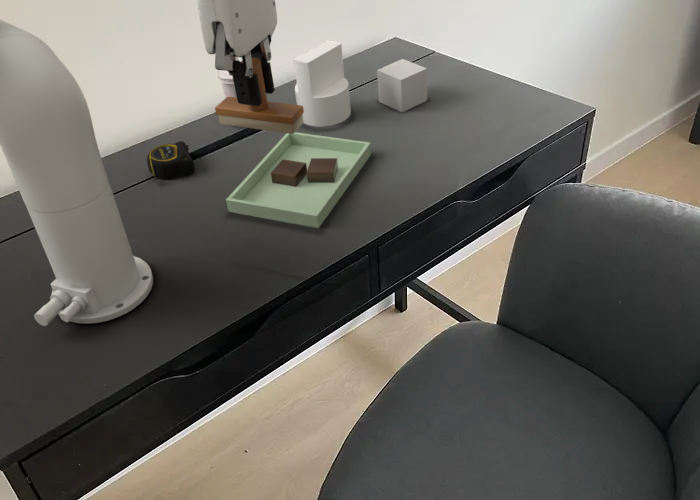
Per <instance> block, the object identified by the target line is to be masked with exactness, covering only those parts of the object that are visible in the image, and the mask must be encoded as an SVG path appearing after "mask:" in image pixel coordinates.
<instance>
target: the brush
mask: <svg viewBox="0 0 700 500" xmlns="http://www.w3.org/2000/svg"><path fill="white" fill-rule="evenodd" d="M251 59H252V66H253V74H257V76H258V82H259V87H260V93H261V99H262V104H261V105H260V106H253V105H245V104H240V103H238V101H237V98H235V97H224V99H223V100H222V101H221V102H220V103H218V104H217V105H216V107H214V110H215V114H216V116H218V120H219V124H220V125H224V126H232V127H239V128H246V129H253V130H260V131H268V132H269V131H270V132H276V133H283V134H286V133H289V134H294V133H295V132H297V131H298V130H299V129H300V127H301V126H302V125H303V124H304V123H303V115H302V114H303V113H304V109H303V106H301V105H297V104H293V103H292V104H291V103H283V102H276V101H269V100H268V95H267V93H266V89H265V83H264V77H263V72H262V66H261V60H260V59H258V58H251ZM240 62H241V63H243V61H242V60H241V61H240Z"/></svg>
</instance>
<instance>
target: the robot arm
mask: <svg viewBox="0 0 700 500" xmlns="http://www.w3.org/2000/svg"><path fill="white" fill-rule="evenodd" d="M196 2H197V3H196V4H197V10H198V16H199V23H200V29H201V32H202V34H201V35H202V39H203V42H204V43H203V44H204V48H205V52H206V53H207V54H208V55H215V57H214V58H215V59H214V69H215V70H217V71H218V70H224V71H228V72H229V75H230V76H233V81H234V86H235V91H236V96H237V101H238V103H240V104H245V105H253V106H260V105H261V104H262V99H261V93H260V87H259V82H258V76H257V74H253V66H252V59H251V58H258V59H260V60H261V66H262V72H263V77H264V83H265V89H266V94H268V95H269V94H270V95H272V94H273V93H274V92H275V90H276V89H275V84H274V78H273V77H274V76H273V72H272V66H271V65H272V64H271V62H270V61H271V60H272V50H271V44H272V37H273V35H274V33H275V30H276V28H277V25H278V15H277V6H276V4H277V3H276V0H196ZM235 57H238V58H241V61H243V63H241V61H240V60H239V59H238V60H239V61H238V60H236V58H235ZM94 129H95V128H94V125H93V120H92V115H91V111H90V108H89V105H88V102H87V99H86V97H85V95H84V93H83V90H82V89H81V86H80V85H79V83H78V82H77V80H76V78H75V77H74V75H73V74H72V73H71V71H70V70H69V69H68V68H67V66H66V65H65V64H64V62H63V61H61V59H60V58H59V57H58V55H57V54H56V52H54V51H53V49H52V48H51V47H50V46H49V45H48V44H47V43H46V42H45V41H43V40H42V39H41V38H39V37H38V36H36V35H34V34H33V33H30V32H29V31H27V30H24V29H22V28H20V27H18V26H16V25H14V24H11V23H9V22H7V21H4V20H2V19H0V147H1V150H2V152H3V154H4V158H5V160H6V161H7V165H8V167H9V169H10V172H11V175H12V177H13V179H14V181H15V184H16V186H17V189H18V191H19V193H20V196H21V198H22V201H23V203H24V205H25V207H26V210H27V212H28V214H29V217H30V219H31V223H32V224H33V226H34V229H35V232H36V233H37V236H38V238H39V241H40V244H41V246H42V249H43V251H44V253H45V255H46V258H47V260H48V262H49V265H50V267H51V270H52V272H53V274H54V277H55V279H54V280H53V281H51V283H50V287H51V295H50V296H49V301H48V302H47V303H46V304H44V305H43V306H42V307H41V308H40V309H38V310H37V312H35V314H33V319H34V320H35V321H36V323H37V324H39V325H40V326H43V327H47V326H48V325H49V324H51V322H53V320H54V319H55V318H56V317H57V316H59V318H60V319H61V321H63V322H64V323H69V322H72V323H75V324H83V325H84V324H86V325H89V324H99V323H103V322H108V321H111V320H115V319H117V318H119V317H122V316H124V315H126V314H128V313H129V312H131V311H133V310H134V309H136V307H138V306H139V305H141V303H142V302H143V301H145V300H146V298H147V297H148V296H149V294H150V292H151V291H152V288H153V285H154V275H153V272H152V269H151V267H150V265H149V264H148V263H147V262H146V260H143V259H142V258H140V257H137V256H135V255H134V254H133V251H132V248H131V245H130V242H129V238H128V235H127V233H126V230H125V227H124V223H123V220H122V218H121V215H120V211H119V208H118V205H117V202H116V199H115V195H114V193H113V189H112V186H111V184H110V181H109V177H108V175H107V171H106V169H105V166H104V162H103V159H102V156H101V152H100V149H99V146H98V143H97V139H96V133H95V130H94Z"/></svg>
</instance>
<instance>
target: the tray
mask: <svg viewBox="0 0 700 500" xmlns="http://www.w3.org/2000/svg"><path fill="white" fill-rule="evenodd" d="M371 156H372V142H371V141H363V140H362V141H361V140H355V139H348V138H341V137H335V136H334V137H333V136H326V135H319V134H312V133H304V132H298V131H296V132H295V133H294V134H289V133H284V136H282V137H281V139H280V140H279V141H278V142H277V143H276V144H275V145H274V146H273V147H272V149H270V150H269V152H268V153H267V154H266V155H265V156H264V157H263V159H261V161H259V163H258V164H257V165H256V166H255V167H254V168H253V169H252V170H251V172H250V173H249V174H248V175H247V176H246V177H245V178H244V179H243V180H242V182H240V183H239V185H237V187H236V188H235V189H234V190H233V191H232V193H231V194H229V196H228V197H227V198H226V199H225V202H226V205H227V207H226V208H227V211H228V212H229V213H233V214H239V215H245V216H250V217H256V218H262V219H267V220H272V221H278V222H282V223H283V222H284V223H288V224H294V225H299V226H304V227H311V228H316V229H319V228H320V227H321V225H322V224H323V223H324V222H325V220H326V219H327V217H328V216H329V214H330V213H331V212H332V210H333V209H334V208H335V206H336V205H337V203H338V202H339V200H340V199H341V197H342V196H343V195H344V193H345V192H346V190H347V189H348V188H349V186H350V185H351V184H352V182H353V181H354V180H355V178H356V177H357V175H358V174H359V172H360V171H361V169H362V168H363V167H364V165H365V164H366V163H367V161H368V160H369V159H370V157H371ZM311 158H337V162H338V171H337V175H336V178H335V182H334V183H310V182H308V179H307V174H306V175H305V177H304V178H303V179H302V180H301V182H300V183H299V184H298V185H297V186H296V187H294V186H288V185H282V184H276V183H272V178H271V172H272V171H273V170H274V169H275V167H276V166H277V165H278V164H279V163H280V162H281V161H282V159H284V160H290V161H297V162H303V163H306V166H307V170H308V167H309V164H310V161H311Z"/></svg>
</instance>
